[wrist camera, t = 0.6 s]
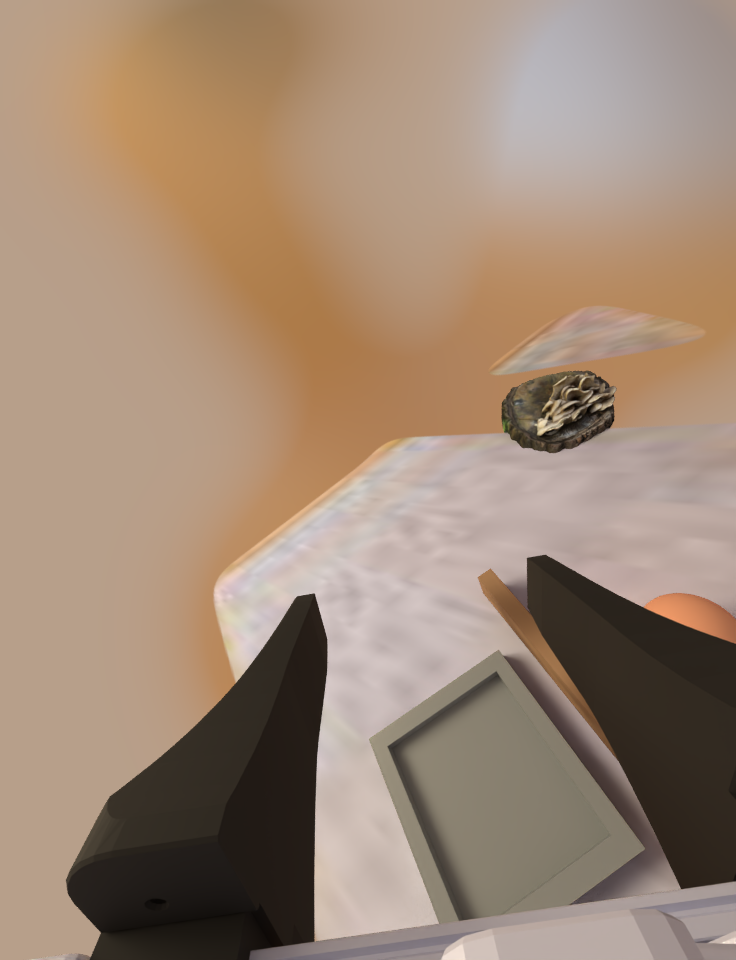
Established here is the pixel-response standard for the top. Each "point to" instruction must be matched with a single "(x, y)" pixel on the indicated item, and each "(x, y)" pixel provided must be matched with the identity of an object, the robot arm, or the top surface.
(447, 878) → the tray
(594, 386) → the log
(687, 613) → the ball
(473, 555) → the top surface
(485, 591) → the wooden plank
